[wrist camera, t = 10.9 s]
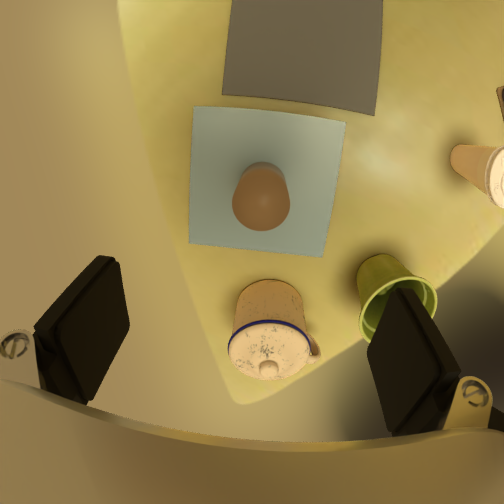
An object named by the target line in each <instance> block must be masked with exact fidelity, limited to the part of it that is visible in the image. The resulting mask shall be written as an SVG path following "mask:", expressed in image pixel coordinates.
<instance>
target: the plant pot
mask: <svg viewBox="0 0 504 504" xmlns="http://www.w3.org/2000/svg"><path fill="white" fill-rule="evenodd" d="M357 286H358V291H359V296H360V302H361V313H360V316H359V329H360V332H361V334H362V336H363V338H364V339H365V340H366V341H368V342H369V343H370V342H371V339H372V337H373V335H374V332H375V330H376V328H377V325H378V323H379V321H380V318H381V316H382V313H383V311H384V308H385V306H386V303H387V301H388V298H389V295H390V293H391V292H392V291H395V290H396V288H398V287H400V288H411V289H413V290H414V291H415V293H416V294H417V296H418V297H419V299H420V300H421V302H422V303H423V305H424V307H425V308H426V310H427V311H428V313H429V315H430V316H431V318H433V316H434V314H435V311H436V307H437V294H436V291H435V289H434V287H433V286H432V285H431V284H430V282H428V281H427V280H425V279H424V278H421V277H418V276H415V275H413V274H412V273H411V272H409V271H408V270H407V269H406V268H405V267H404V266H403V265H402V264H400V263H399V262H398V261H397V260H396V259H395V258H394V257H392V256H390V255H387V254H379V255H377V256H374V257H371V258H368V259H367V260H366V261H365V262H364V263H363V264H362V265H361V266H360V268H359V270H358V273H357Z"/></svg>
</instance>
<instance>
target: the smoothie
mask: <svg viewBox="0 0 504 504" xmlns="http://www.w3.org/2000/svg"><path fill="white" fill-rule="evenodd" d="M450 163H451V166H452V168H453V169H454V171H456V172H457V173H458V174H460V175H461V176H463V177H464V178H465V179H467V180H468V181H470V182H471V183H472V184H474V185H475V186H476V187H478V188H479V189H480V190H481V191H483V192H484V193H485V194H486V195H488V197H489V199H490V200H491V202H493V203H494V204H495V205H497V206H499V207H501V208H504V145H503V146H500V147H498V148H497V147H486V146H475V145H457V146H455V147H454V148H453V150H452V152H451V155H450Z"/></svg>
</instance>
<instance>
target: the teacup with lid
mask: <svg viewBox="0 0 504 504" xmlns="http://www.w3.org/2000/svg"><path fill="white" fill-rule="evenodd" d="M310 351H311V353H312V355H310ZM228 354H229V357H230V360H231V362H232V363H233V365H234V366H235V367H236V368H237V369H238V370H239V371H240V372H242V373H243V374H245V375H247V376H250V377H252V378H256V379H261V380H278V379H283V378H286V377H289V376H291V375H293V374H295V373H296V372H298V371H299V370H300V369H301V368H302V367H303V366H304V365H305V364H306V363H307V364H313V363H315V362H317V361H318V360H319V358H320V356H321V352H320V349H319V346H318V344H317V342H316V341H315V340H314V338H313V337H312V336H311V335H309V334H308V333H307V332H306V324H305V317H304V310H303V303H302V299H301V297H300V295H299V293H298V292H297V291H296V290H295V289H294V288H293V287H292V286H290V285H288V284H286V283H284V282H281V281H277V280H263V281H259V282H256V283H253V284H251V285H250V286H248V287H247V288H246V289H245V290H244V291H243V292H242V293H241V294H240V296H239V298H238V301H237V307H236V313H235V319H234V325H233V332H232V336H231V338H230V340H229V343H228Z"/></svg>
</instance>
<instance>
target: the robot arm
mask: <svg viewBox="0 0 504 504" xmlns="http://www.w3.org/2000/svg"><path fill="white" fill-rule="evenodd" d="M120 270H121V269H120V264H119V262H116V260H115V258H114V257H109V256H102V255H99V256H97V257H96V258H95V259H94V260H93V261H92V262H91V263H90V264H89V265H88V266H87V267H86V268H85V269H84V270H83V271H82V272H81V273H80V274H79V275H78V277H77V278H76V279H75V280H74V281H73V282H72V283H71V284H70V285H69V286H68V287H67V288H66V289H65V291H64V292H63V293H62V294H61V295H60V296H59V297H58V298H57V300H56V301H55V302H54V303H53V304H52V305H51V306H50V308H49V309H48V310H47V311H46V312H45V313H44V314H43V316H42V317H41V318H40V319H39V320H38V322H37V323H36V324H35V325H34V329H35V332H34V334H33V335H32V334H31V333H30V332H29V331H26V330H21V329H18V330H13V331H10V332H8V333H7V334H5V335H4V336H3V337H2V338H1V339H0V504H504V413H502V412H501V411H499V410H497V409H496V408H494V407H492V394H491V391H490V389H489V388H488V386H487V385H486V384H485V383H484V382H483V381H482V380H480V379H478V378H476V377H471V376H467V377H464V378H463V379H461V380H460V379H459V377H458V375H459V374H460V372H461V369H460V368H459V366H458V364H457V362H456V360H455V358H454V356H453V355H452V353H451V351H450V349H449V347H448V345H447V344H446V342H445V340H444V338H443V337H442V335H441V333H440V331H439V330H438V328H437V326H436V325H435V323H434V321H433V320H432V318H431V316H430V315H429V313H428V311H427V310H426V308H425V307H424V305H423V303H422V302H421V300H420V299H419V297H418V296H417V294H416V293H415V291H414V290H413V289H411V288H400V287H398V288H396V290H395V291H392V292H391V293H390V295H389V298H388V301H387V303H386V306H385V308H384V311H383V313H382V316H381V318H380V321H379V323H378V325H377V328H376V330H375V332H374V335H373V337H372V339H371V342H370V344H369V346H368V349H367V357H368V361H369V364H370V368H371V371H372V374H373V378H374V381H375V385H376V388H377V392H378V396H379V399H380V403H381V406H382V410H383V414H384V418H385V422H386V426H387V429H388V431H389V432H392V436H393V437H391V438H382V439H372V440H360V441H345V442H275V441H260V440H247V439H237V438H228V437H220V436H212V435H206V434H199V433H193V432H188V431H182V430H177V429H171V428H167V427H162V426H158V425H153V424H149V423H145V422H141V421H137V420H133V419H129V418H125V417H122V416H118V415H115V414H112V413H108V412H105V411H102V410H99V409H96V408H92V407H89V406H86V405H87V403H88V401H91V400H93V399H94V396H95V395H96V393H97V391H98V389H99V387H100V385H101V383H102V381H103V379H104V376H105V375H106V373H107V371H108V369H109V367H110V365H111V363H112V361H113V359H114V357H115V355H116V353H117V352H118V350H119V348H120V346H121V344H122V342H123V340H124V338H125V337H126V335H127V333H128V331H129V326H130V322H129V316H128V311H127V306H126V301H125V295H124V289H123V283H122V277H121V271H120Z"/></svg>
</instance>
